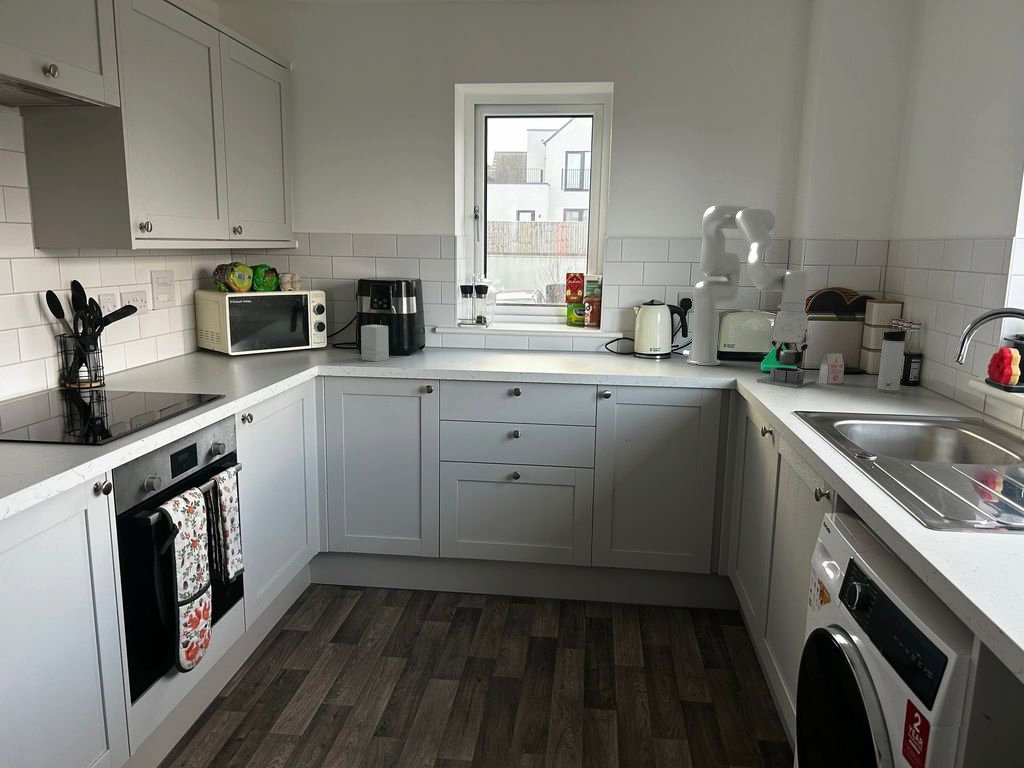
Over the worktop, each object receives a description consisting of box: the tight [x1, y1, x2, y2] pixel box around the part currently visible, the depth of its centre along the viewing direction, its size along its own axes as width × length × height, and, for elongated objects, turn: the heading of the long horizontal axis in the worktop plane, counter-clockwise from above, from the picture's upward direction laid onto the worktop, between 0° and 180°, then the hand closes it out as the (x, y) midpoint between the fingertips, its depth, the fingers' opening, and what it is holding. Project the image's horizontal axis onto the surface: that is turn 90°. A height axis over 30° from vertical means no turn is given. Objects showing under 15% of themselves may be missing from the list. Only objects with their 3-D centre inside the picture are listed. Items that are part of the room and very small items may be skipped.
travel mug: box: [876, 330, 907, 394], centre depth 244 cm, size 6×7×20 cm
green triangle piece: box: [760, 344, 798, 372], centre depth 278 cm, size 12×8×10 cm, turn 75°
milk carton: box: [818, 353, 845, 385], centre depth 259 cm, size 4×7×10 cm, turn 110°
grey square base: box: [756, 367, 817, 389], centre depth 258 cm, size 14×14×4 cm
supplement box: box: [360, 324, 390, 362], centre depth 284 cm, size 7×7×13 cm
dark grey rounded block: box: [779, 349, 799, 367], centre depth 257 cm, size 6×6×4 cm
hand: (788, 361), depth 257 cm, fingers closed on dark grey rounded block, 5 cm apart
